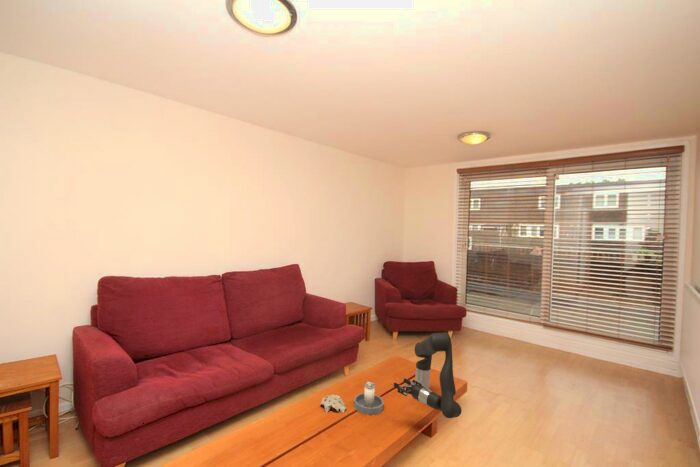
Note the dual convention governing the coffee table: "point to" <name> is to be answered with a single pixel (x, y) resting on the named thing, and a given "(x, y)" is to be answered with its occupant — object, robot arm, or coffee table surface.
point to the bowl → (365, 410)
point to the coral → (333, 403)
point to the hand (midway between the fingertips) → (399, 382)
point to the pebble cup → (369, 394)
